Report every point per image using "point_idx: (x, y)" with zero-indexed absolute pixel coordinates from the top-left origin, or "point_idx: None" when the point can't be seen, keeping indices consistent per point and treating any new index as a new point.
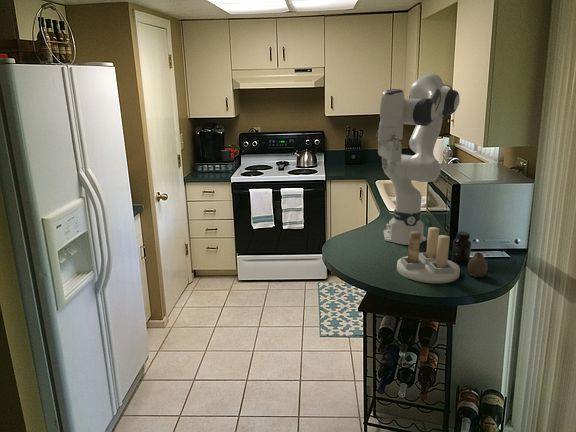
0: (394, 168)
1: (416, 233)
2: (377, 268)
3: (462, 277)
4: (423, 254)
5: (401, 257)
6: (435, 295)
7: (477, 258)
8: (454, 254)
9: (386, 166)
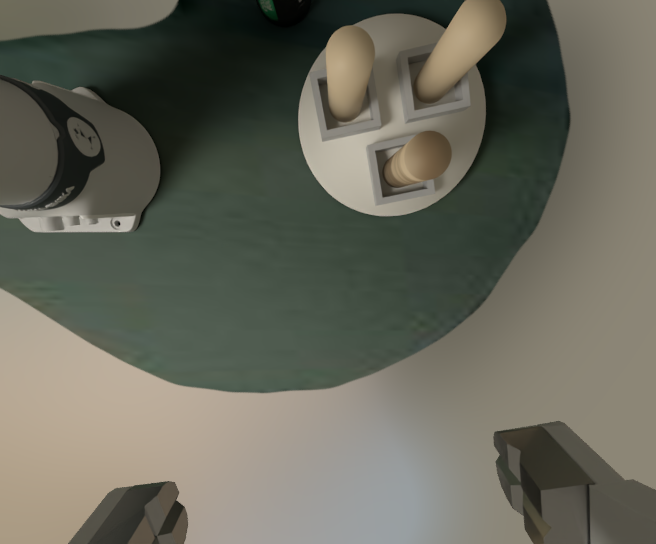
0: (639, 490)
1: (438, 151)
2: (380, 266)
3: None
4: (325, 125)
5: (377, 203)
6: (558, 129)
7: None
8: (295, 6)
9: (152, 530)
